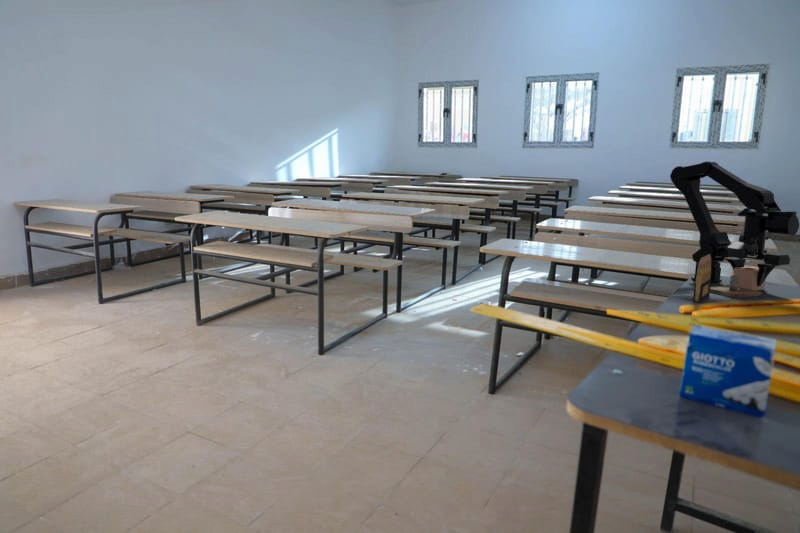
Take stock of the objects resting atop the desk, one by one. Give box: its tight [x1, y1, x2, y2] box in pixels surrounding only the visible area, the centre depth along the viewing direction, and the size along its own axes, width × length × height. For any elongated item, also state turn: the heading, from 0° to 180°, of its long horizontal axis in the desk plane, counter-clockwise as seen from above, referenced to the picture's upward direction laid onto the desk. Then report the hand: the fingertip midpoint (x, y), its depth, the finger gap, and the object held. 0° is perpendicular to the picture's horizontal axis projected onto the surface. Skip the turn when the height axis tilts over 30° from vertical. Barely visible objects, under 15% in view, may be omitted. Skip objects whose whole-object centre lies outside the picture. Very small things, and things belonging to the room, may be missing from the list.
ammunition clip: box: [692, 254, 712, 304], centre depth 148 cm, size 11×2×12 cm, turn 139°
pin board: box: [710, 274, 763, 299], centre depth 157 cm, size 10×10×5 cm
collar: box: [732, 266, 767, 291], centre depth 164 cm, size 6×6×6 cm
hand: (748, 284), depth 164 cm, fingers closed on collar, 6 cm apart
